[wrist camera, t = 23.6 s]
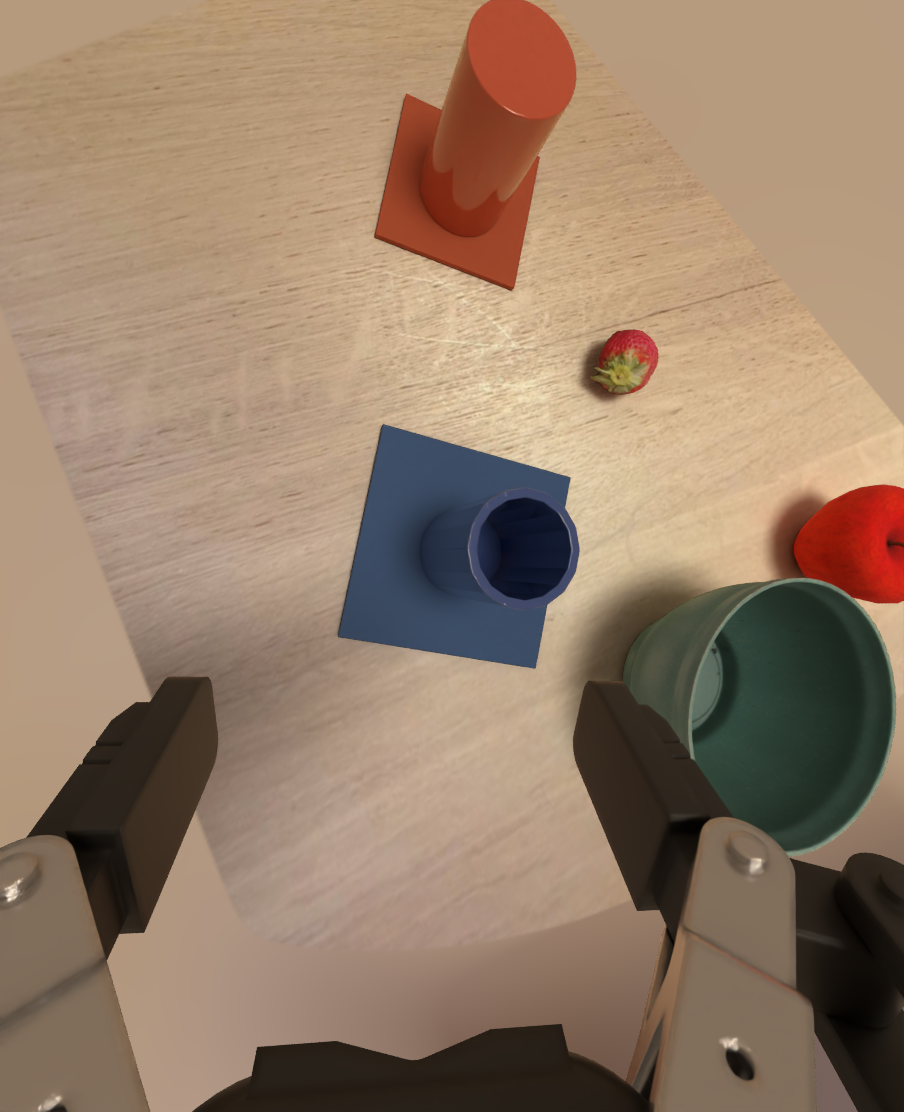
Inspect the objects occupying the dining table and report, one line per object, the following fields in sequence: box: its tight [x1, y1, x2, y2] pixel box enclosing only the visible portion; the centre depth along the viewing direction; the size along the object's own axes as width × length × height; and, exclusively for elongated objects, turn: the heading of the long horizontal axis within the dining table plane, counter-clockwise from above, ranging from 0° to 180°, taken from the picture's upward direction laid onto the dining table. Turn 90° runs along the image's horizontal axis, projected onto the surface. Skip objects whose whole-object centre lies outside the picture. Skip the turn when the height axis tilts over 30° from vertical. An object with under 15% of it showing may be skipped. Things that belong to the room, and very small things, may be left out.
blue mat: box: [338, 424, 570, 668], centre depth 35 cm, size 14×14×1 cm
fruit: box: [590, 330, 658, 395], centre depth 37 cm, size 4×6×5 cm
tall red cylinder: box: [420, 0, 576, 237], centre depth 31 cm, size 6×6×10 cm
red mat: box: [375, 94, 540, 290], centre depth 36 cm, size 10×10×1 cm
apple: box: [793, 485, 904, 603], centre depth 41 cm, size 9×9×8 cm
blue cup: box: [420, 488, 580, 610], centre depth 31 cm, size 6×6×10 cm
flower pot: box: [623, 578, 896, 856], centre depth 35 cm, size 16×16×11 cm
